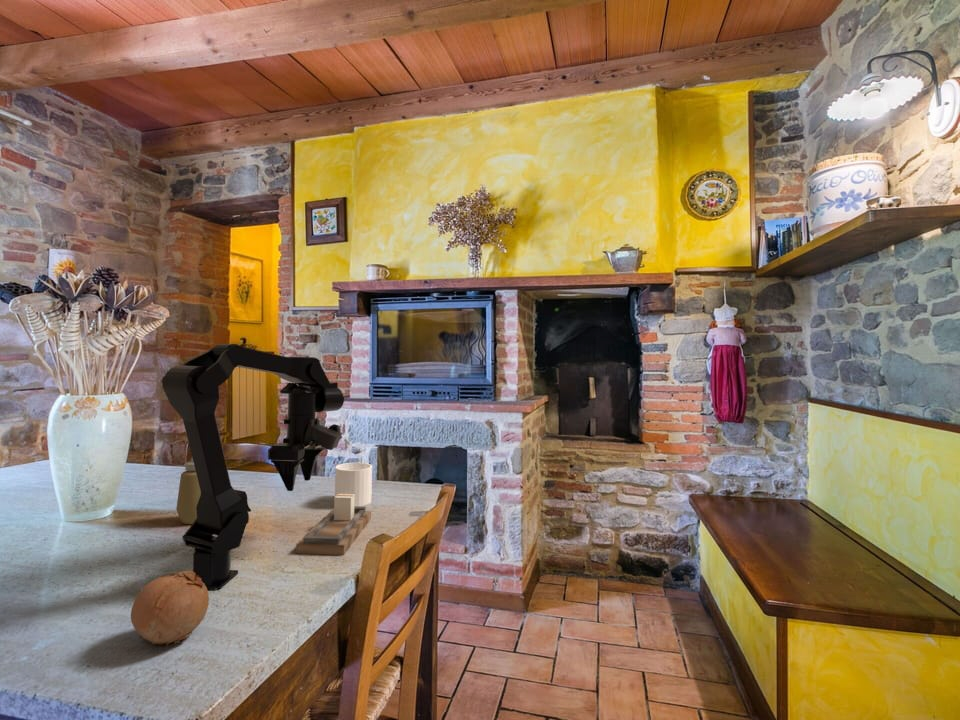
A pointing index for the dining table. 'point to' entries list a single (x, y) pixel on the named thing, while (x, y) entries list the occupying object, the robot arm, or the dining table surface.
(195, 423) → the robot arm
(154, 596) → the onion
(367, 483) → the mug
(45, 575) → the dining table surface
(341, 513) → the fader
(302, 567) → the dining table surface
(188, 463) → the squeeze bottle
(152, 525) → the dining table surface
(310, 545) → the brown wooden tray
